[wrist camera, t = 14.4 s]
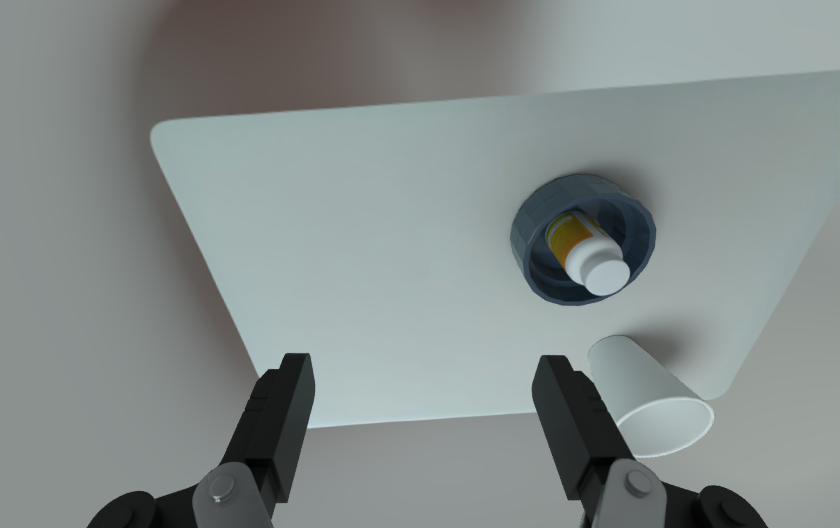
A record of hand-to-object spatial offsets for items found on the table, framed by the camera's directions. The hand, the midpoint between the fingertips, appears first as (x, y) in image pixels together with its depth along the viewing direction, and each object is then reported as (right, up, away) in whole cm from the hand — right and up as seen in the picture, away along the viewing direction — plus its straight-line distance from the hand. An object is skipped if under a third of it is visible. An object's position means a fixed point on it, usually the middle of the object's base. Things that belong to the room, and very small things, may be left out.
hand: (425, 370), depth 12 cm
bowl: (+17, +8, +29) cm, 34 cm away
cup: (+28, -9, +40) cm, 50 cm away
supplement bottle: (+17, +8, +28) cm, 34 cm away
